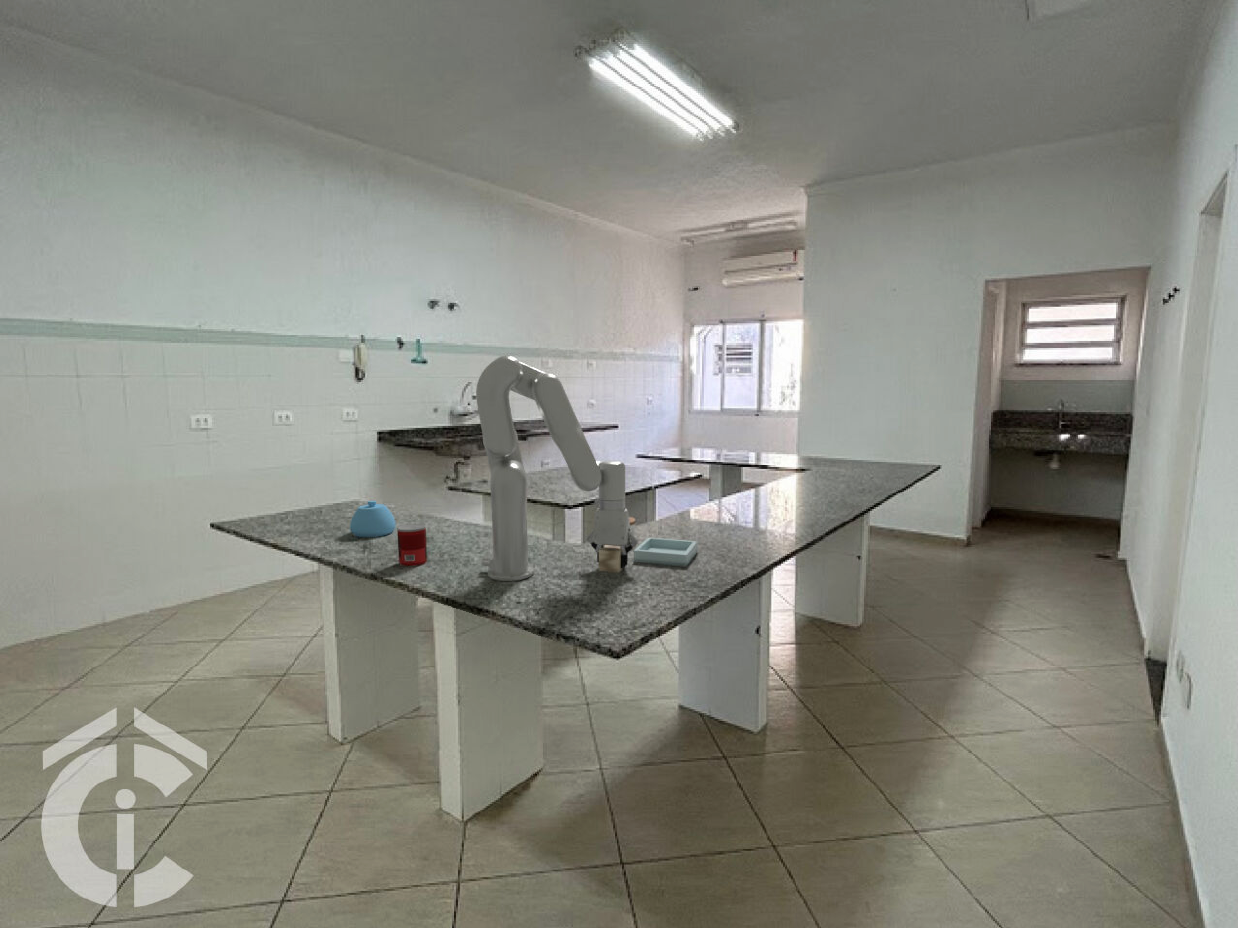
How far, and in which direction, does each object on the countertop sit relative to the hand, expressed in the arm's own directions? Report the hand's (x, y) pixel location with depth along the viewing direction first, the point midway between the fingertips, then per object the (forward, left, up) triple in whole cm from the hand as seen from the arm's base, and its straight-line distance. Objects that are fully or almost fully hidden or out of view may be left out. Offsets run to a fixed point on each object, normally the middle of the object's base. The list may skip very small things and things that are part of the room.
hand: (612, 565), depth 178 cm
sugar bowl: (-94, +13, -1) cm, 95 cm away
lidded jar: (-7, +28, -1) cm, 29 cm away
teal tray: (+12, +16, -1) cm, 20 cm away
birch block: (0, 0, -1) cm, 1 cm away
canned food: (-58, -13, -1) cm, 59 cm away
